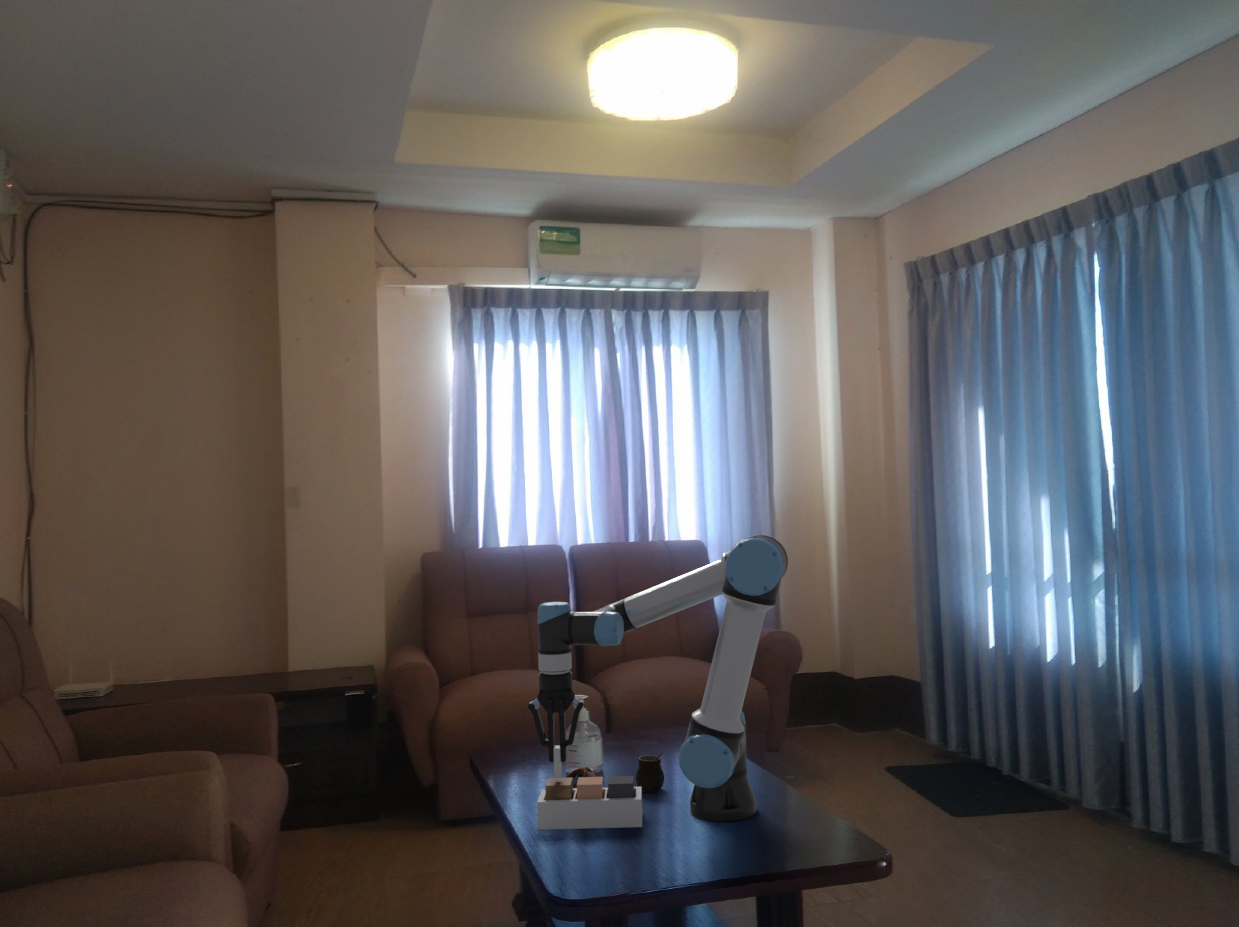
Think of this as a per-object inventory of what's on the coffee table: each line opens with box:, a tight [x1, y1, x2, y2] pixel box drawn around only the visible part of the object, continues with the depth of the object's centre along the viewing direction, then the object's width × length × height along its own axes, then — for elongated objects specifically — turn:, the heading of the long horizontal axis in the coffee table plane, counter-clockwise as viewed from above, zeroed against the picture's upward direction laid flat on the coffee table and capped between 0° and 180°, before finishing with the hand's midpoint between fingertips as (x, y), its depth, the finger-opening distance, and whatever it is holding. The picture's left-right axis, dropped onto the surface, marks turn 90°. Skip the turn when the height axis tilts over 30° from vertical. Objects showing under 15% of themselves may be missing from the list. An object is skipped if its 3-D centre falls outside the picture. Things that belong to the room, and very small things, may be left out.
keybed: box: [536, 786, 644, 831], centre depth 206 cm, size 23×9×6 cm, turn 88°
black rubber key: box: [607, 775, 635, 798], centre depth 206 cm, size 6×6×5 cm
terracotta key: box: [576, 776, 604, 799], centre depth 206 cm, size 6×6×5 cm
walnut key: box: [544, 777, 574, 800], centre depth 206 cm, size 6×6×5 cm
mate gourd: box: [635, 750, 665, 794], centre depth 226 cm, size 7×8×10 cm
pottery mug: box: [564, 767, 598, 788], centre depth 223 cm, size 12×10×8 cm
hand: (558, 775), depth 206 cm, fingers closed
